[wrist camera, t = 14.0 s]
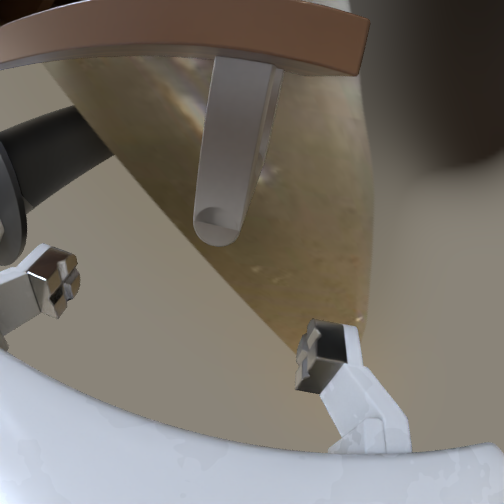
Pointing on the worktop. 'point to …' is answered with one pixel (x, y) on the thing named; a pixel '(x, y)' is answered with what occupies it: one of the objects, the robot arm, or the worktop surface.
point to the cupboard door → (223, 75)
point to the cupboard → (26, 8)
